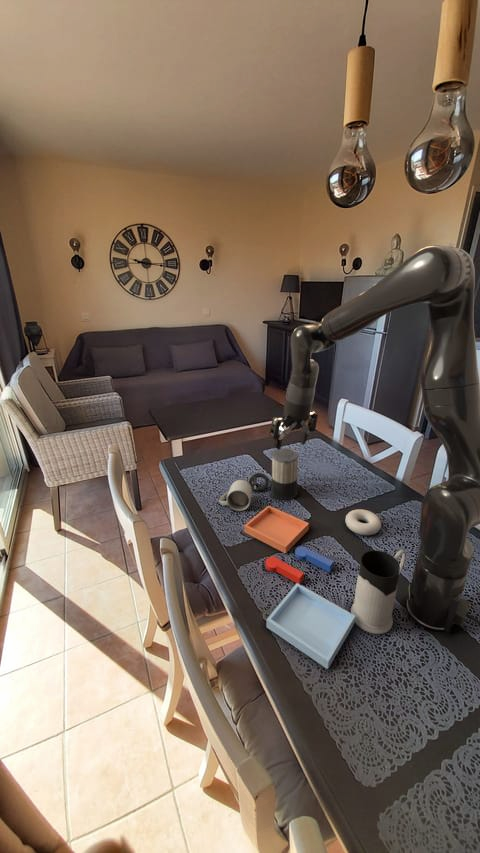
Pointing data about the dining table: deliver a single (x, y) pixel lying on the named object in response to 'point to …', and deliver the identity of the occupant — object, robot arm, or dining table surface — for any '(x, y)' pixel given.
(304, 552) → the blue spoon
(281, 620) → the blue tray
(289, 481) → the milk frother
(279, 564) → the red spoon
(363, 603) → the grey pitcher
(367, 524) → the donut
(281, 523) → the terracotta tray
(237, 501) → the ceramic mug
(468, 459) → the robot arm
